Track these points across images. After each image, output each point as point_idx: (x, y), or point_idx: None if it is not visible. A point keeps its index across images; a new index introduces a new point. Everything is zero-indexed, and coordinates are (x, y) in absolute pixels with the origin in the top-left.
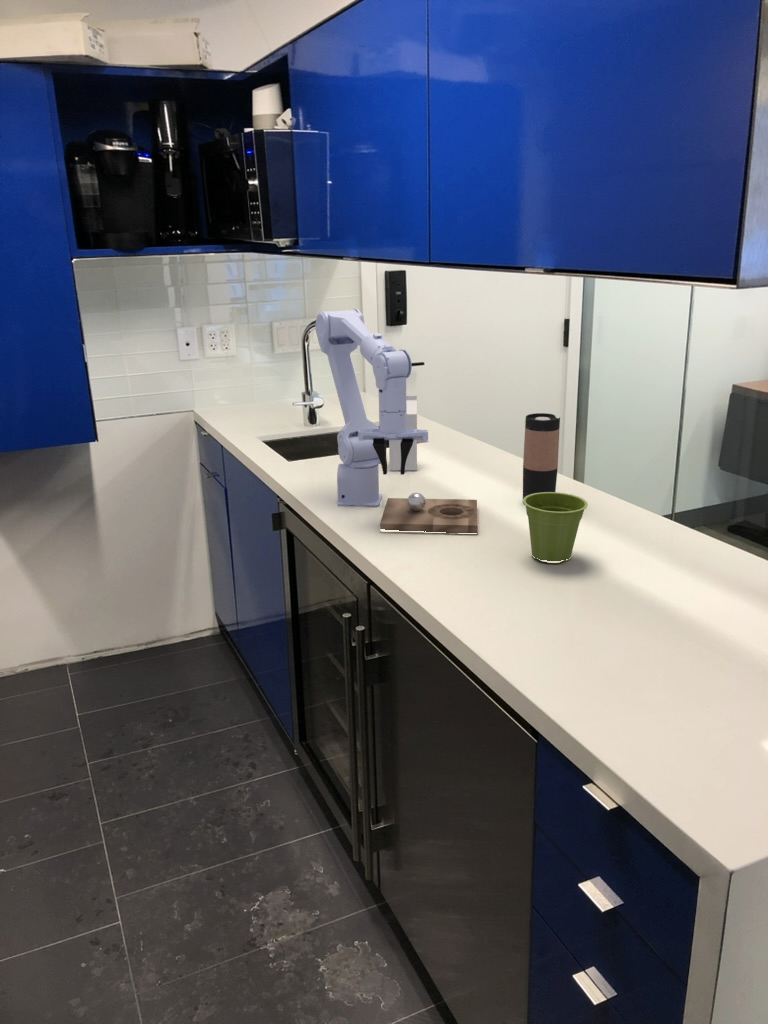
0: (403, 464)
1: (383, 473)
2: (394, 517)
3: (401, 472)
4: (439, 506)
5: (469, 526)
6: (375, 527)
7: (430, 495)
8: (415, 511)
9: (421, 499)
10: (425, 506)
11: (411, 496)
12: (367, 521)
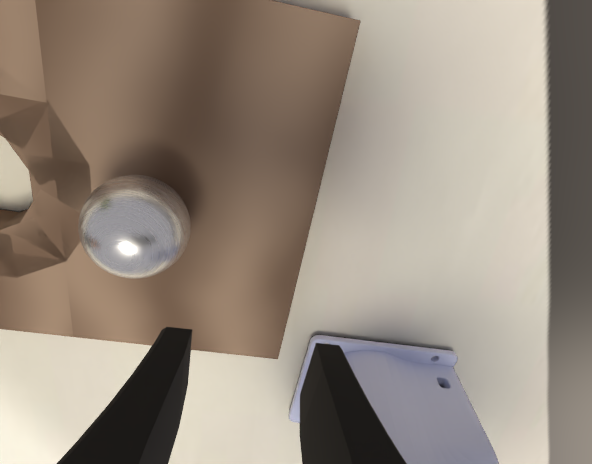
0: (130, 400)
1: (341, 351)
2: (268, 115)
3: (179, 338)
4: (41, 249)
5: None
6: (361, 105)
7: None
8: None
9: (93, 204)
10: None
11: (153, 229)
12: (382, 188)
